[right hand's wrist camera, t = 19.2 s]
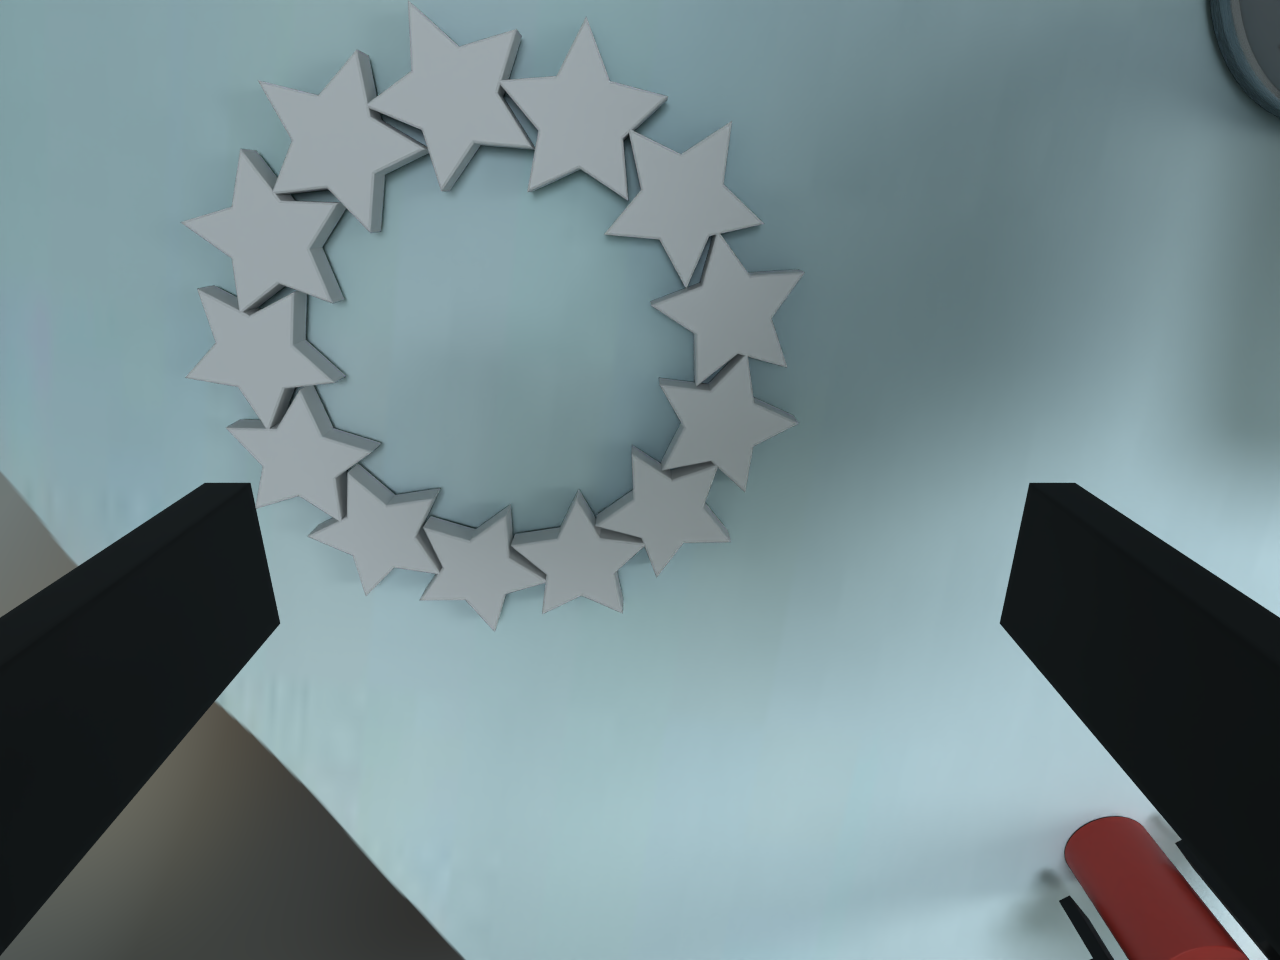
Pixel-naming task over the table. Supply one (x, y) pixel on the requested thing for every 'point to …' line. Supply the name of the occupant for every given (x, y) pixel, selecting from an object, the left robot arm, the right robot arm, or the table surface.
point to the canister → (1144, 895)
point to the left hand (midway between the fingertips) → (1131, 882)
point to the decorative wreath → (453, 130)
